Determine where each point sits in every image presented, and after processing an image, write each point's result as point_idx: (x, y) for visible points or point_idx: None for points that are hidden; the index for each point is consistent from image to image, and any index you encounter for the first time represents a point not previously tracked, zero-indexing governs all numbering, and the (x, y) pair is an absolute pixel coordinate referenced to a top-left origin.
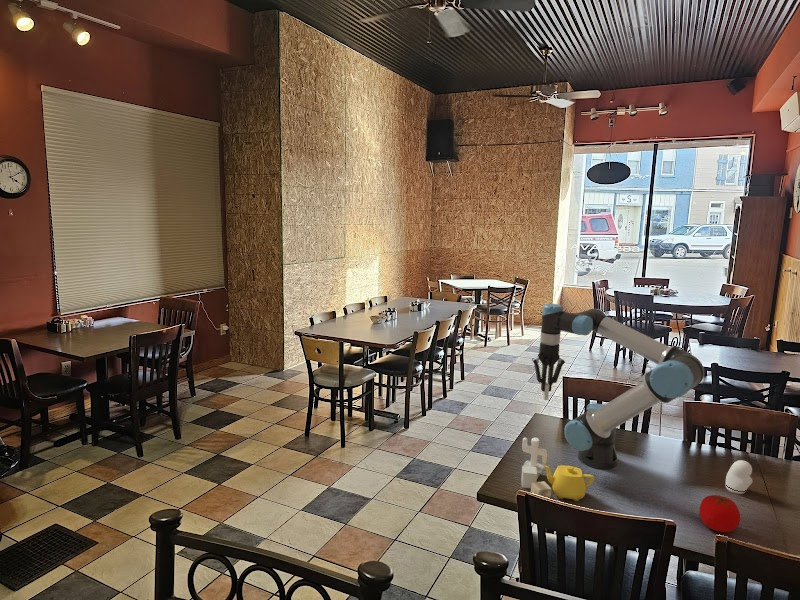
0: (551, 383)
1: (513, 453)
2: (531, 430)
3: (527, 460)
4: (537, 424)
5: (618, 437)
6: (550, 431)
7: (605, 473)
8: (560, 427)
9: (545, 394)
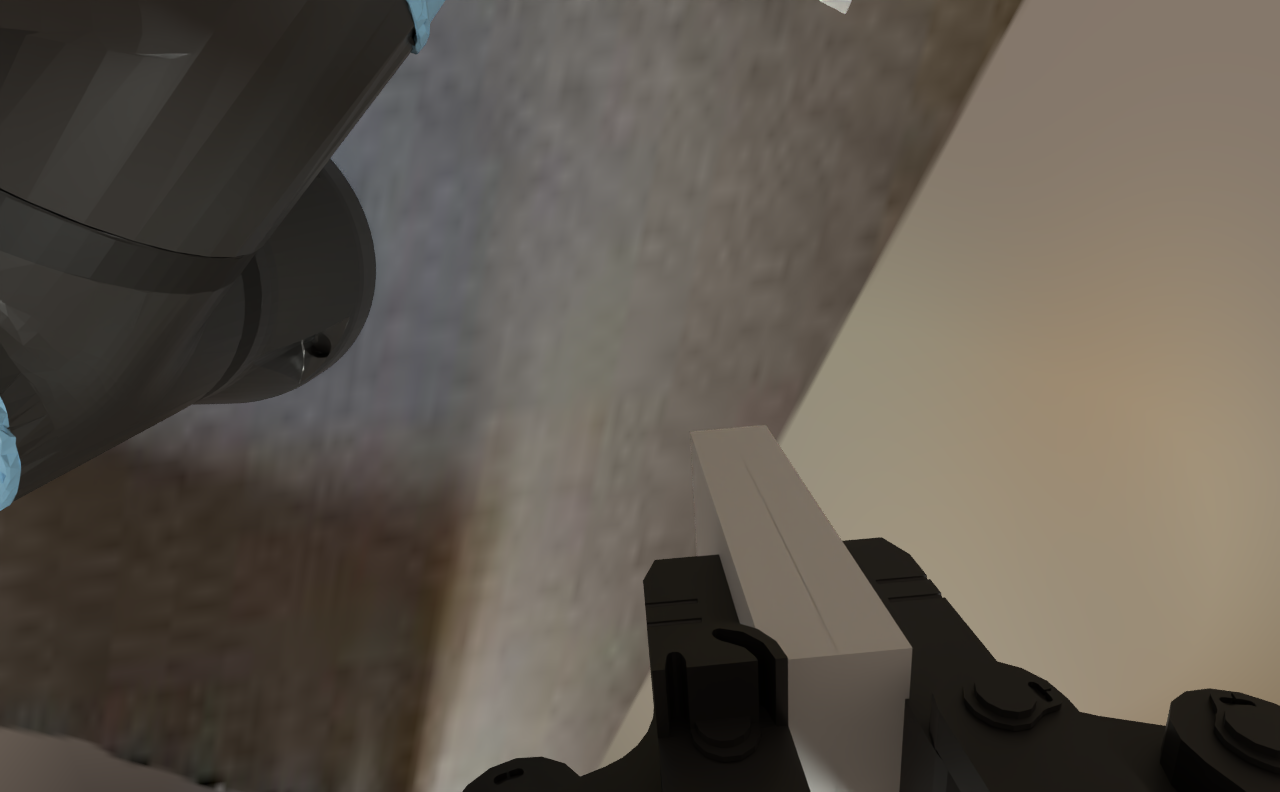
0: (704, 684)
1: (855, 281)
2: None
3: (837, 9)
4: (589, 729)
5: (34, 624)
6: (516, 645)
7: None
8: (436, 710)
9: (782, 476)
